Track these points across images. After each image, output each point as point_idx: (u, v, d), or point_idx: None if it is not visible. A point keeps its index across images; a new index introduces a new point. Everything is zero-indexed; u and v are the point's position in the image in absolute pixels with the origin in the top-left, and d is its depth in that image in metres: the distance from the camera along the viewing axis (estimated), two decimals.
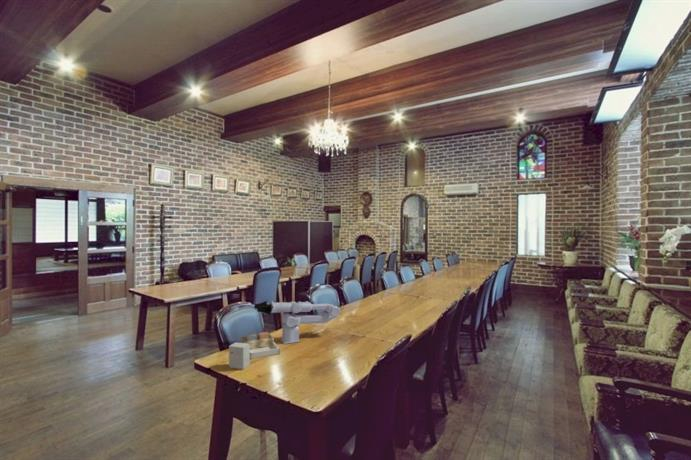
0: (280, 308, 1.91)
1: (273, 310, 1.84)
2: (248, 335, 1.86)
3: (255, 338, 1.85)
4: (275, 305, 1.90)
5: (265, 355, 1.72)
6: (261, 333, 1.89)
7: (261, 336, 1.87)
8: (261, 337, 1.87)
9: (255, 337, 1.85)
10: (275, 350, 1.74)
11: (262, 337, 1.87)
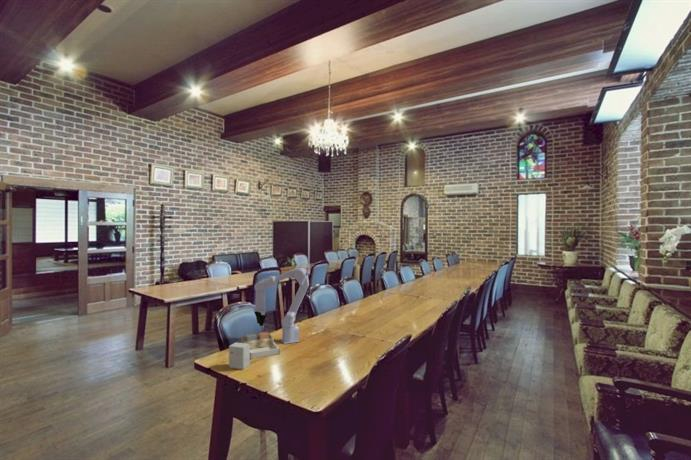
0: (261, 302, 1.95)
1: (263, 313, 1.91)
2: (248, 335, 1.86)
3: (255, 338, 1.85)
4: (258, 308, 1.94)
5: (265, 355, 1.72)
6: (261, 333, 1.89)
7: (261, 336, 1.87)
8: (261, 337, 1.87)
9: (255, 337, 1.85)
10: (275, 350, 1.74)
11: (262, 337, 1.87)
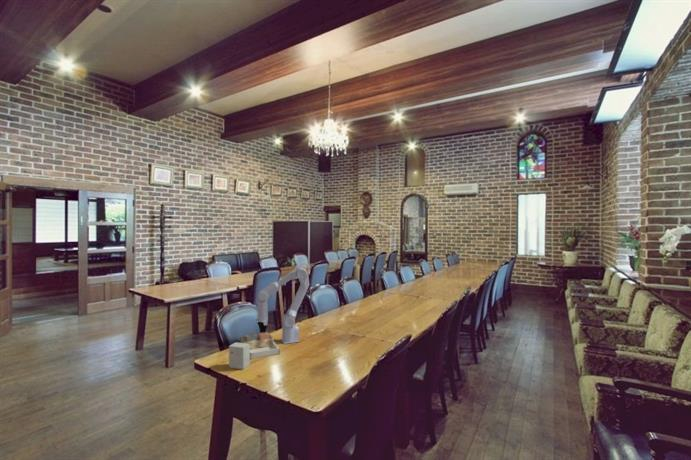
0: (264, 312, 1.90)
1: (265, 324, 1.85)
2: (248, 335, 1.86)
3: (255, 338, 1.85)
4: (260, 318, 1.89)
5: (265, 355, 1.72)
6: (262, 334, 1.88)
7: (261, 337, 1.86)
8: (261, 338, 1.86)
9: (255, 337, 1.85)
10: (275, 350, 1.74)
11: (263, 338, 1.86)
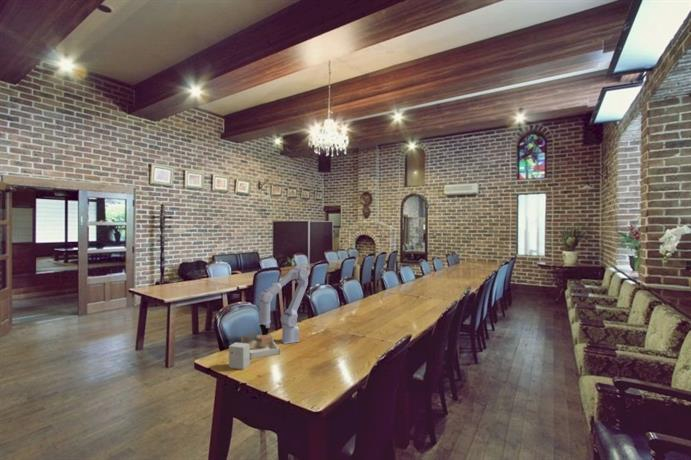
0: (266, 314, 1.85)
1: (268, 326, 1.80)
2: (248, 335, 1.86)
3: (255, 338, 1.85)
4: (263, 320, 1.84)
5: (265, 355, 1.72)
6: (263, 336, 1.84)
7: (263, 340, 1.81)
8: (263, 341, 1.81)
9: (255, 337, 1.85)
10: (275, 350, 1.74)
11: (264, 341, 1.81)
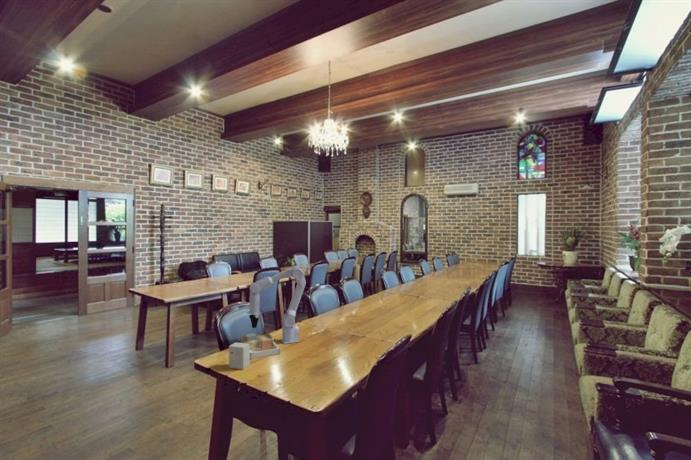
0: (256, 305, 1.88)
1: (257, 316, 1.84)
2: (248, 335, 1.86)
3: (255, 338, 1.85)
4: (252, 310, 1.88)
5: (265, 355, 1.72)
6: (264, 346, 1.79)
7: None
8: None
9: (255, 337, 1.85)
10: (275, 350, 1.74)
11: None
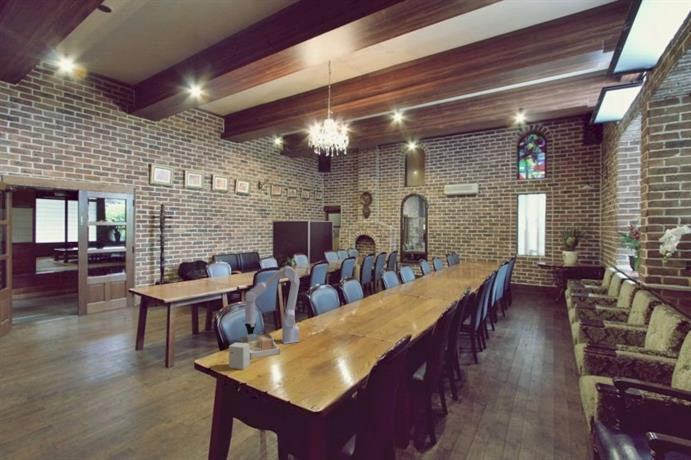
0: (251, 313, 1.87)
1: (253, 325, 1.82)
2: (248, 336, 1.85)
3: (255, 339, 1.84)
4: (248, 319, 1.86)
5: (265, 355, 1.72)
6: (264, 346, 1.79)
7: None
8: None
9: (255, 338, 1.84)
10: (275, 350, 1.74)
11: None
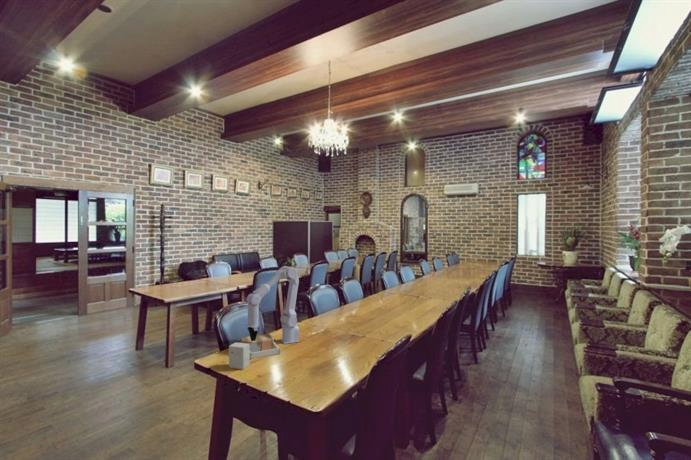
0: (254, 317, 1.80)
1: (256, 329, 1.75)
2: (251, 346, 1.78)
3: (258, 349, 1.78)
4: (251, 323, 1.79)
5: (265, 355, 1.72)
6: (264, 346, 1.79)
7: None
8: None
9: (258, 348, 1.78)
10: (275, 350, 1.74)
11: None
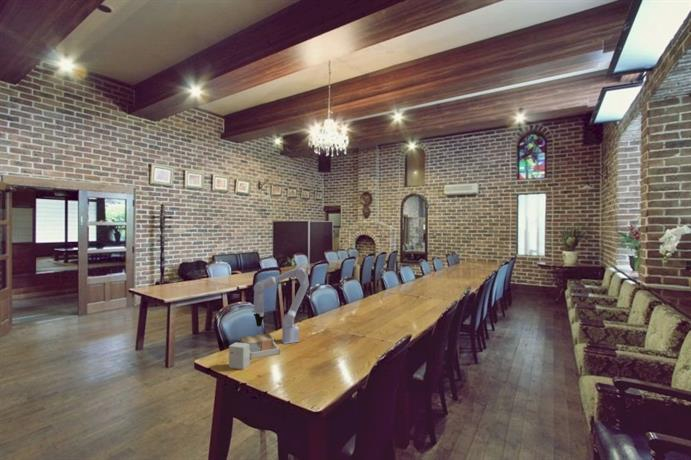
0: (260, 304, 1.91)
1: (262, 315, 1.87)
2: (251, 346, 1.78)
3: (258, 349, 1.78)
4: (257, 309, 1.91)
5: (265, 355, 1.72)
6: (264, 346, 1.79)
7: None
8: None
9: (258, 348, 1.78)
10: (275, 350, 1.74)
11: None
